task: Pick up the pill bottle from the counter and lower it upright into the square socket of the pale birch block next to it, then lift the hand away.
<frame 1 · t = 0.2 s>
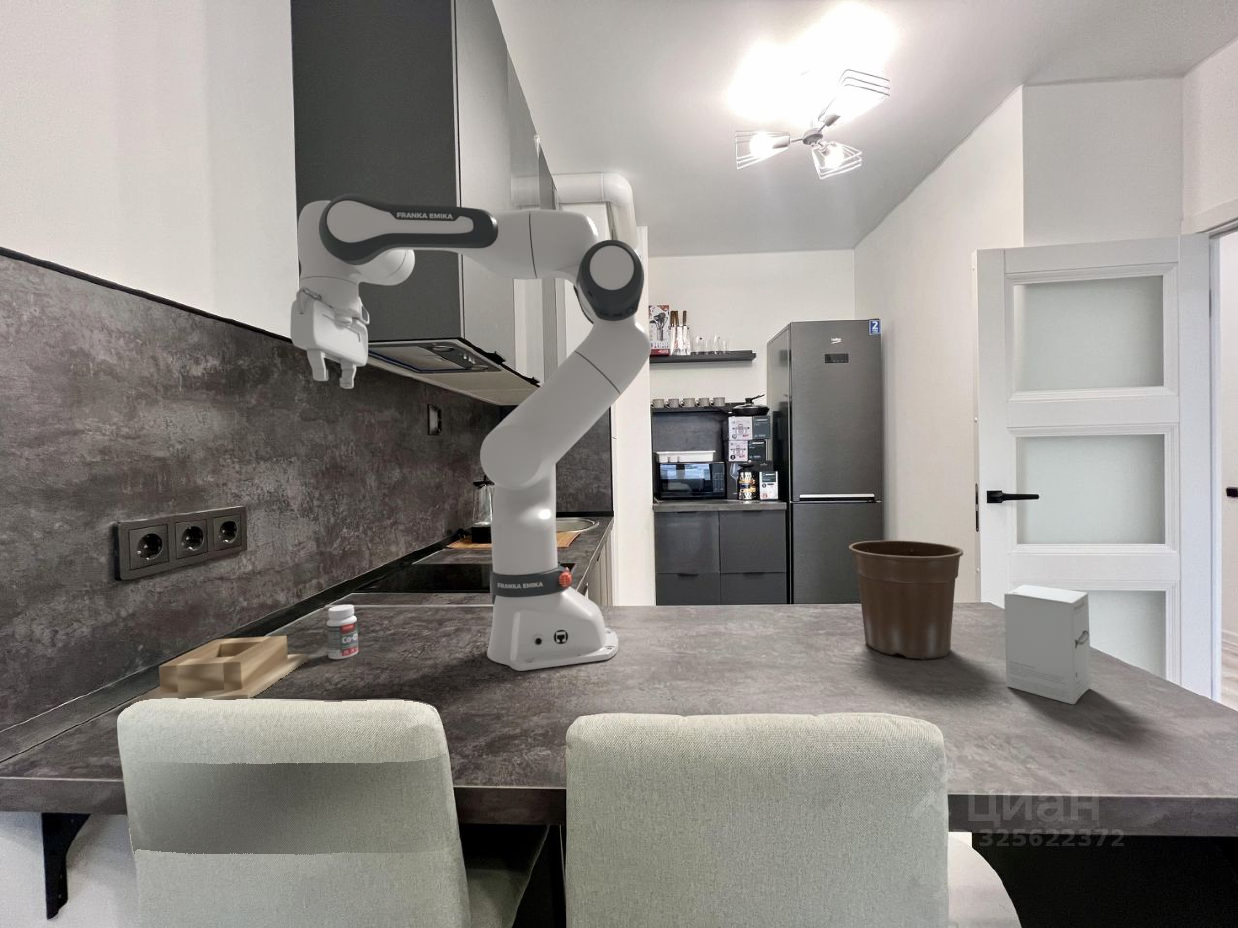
hand: (334, 384, 91), 47 cm above the kitchen counter, tool pointing down, fingers open, 8 cm apart
pill bottle: (343, 655, 95), on the kitchen counter
birch socket block: (229, 682, 84), on the kitchen counter
supplement box: (1048, 689, 71), on the kitchen counter
plant pot: (907, 647, 87), on the kitchen counter
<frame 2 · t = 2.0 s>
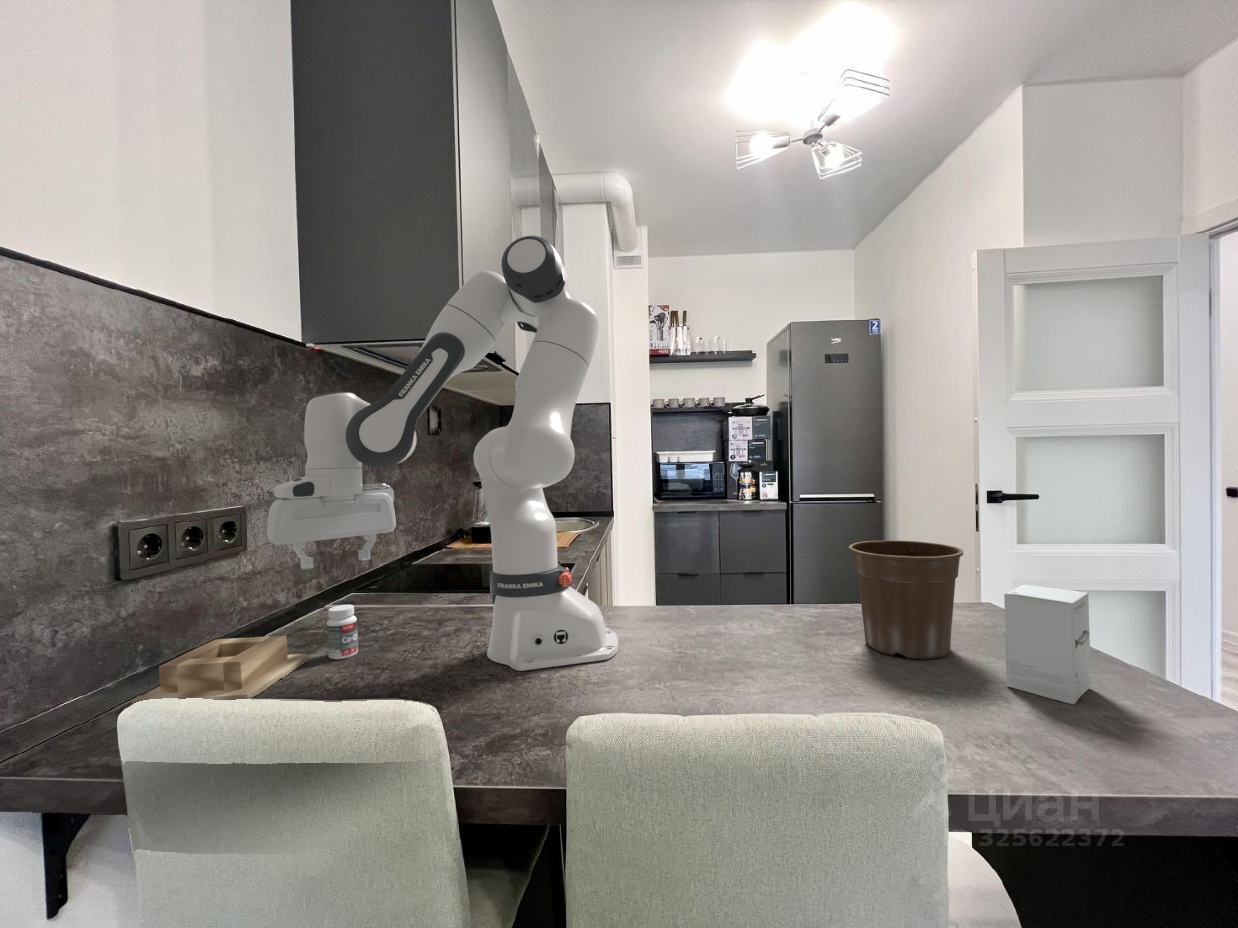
hand: (336, 563, 95), 16 cm above the kitchen counter, tool pointing down, fingers open, 8 cm apart
nothing on the kitchen counter moved.
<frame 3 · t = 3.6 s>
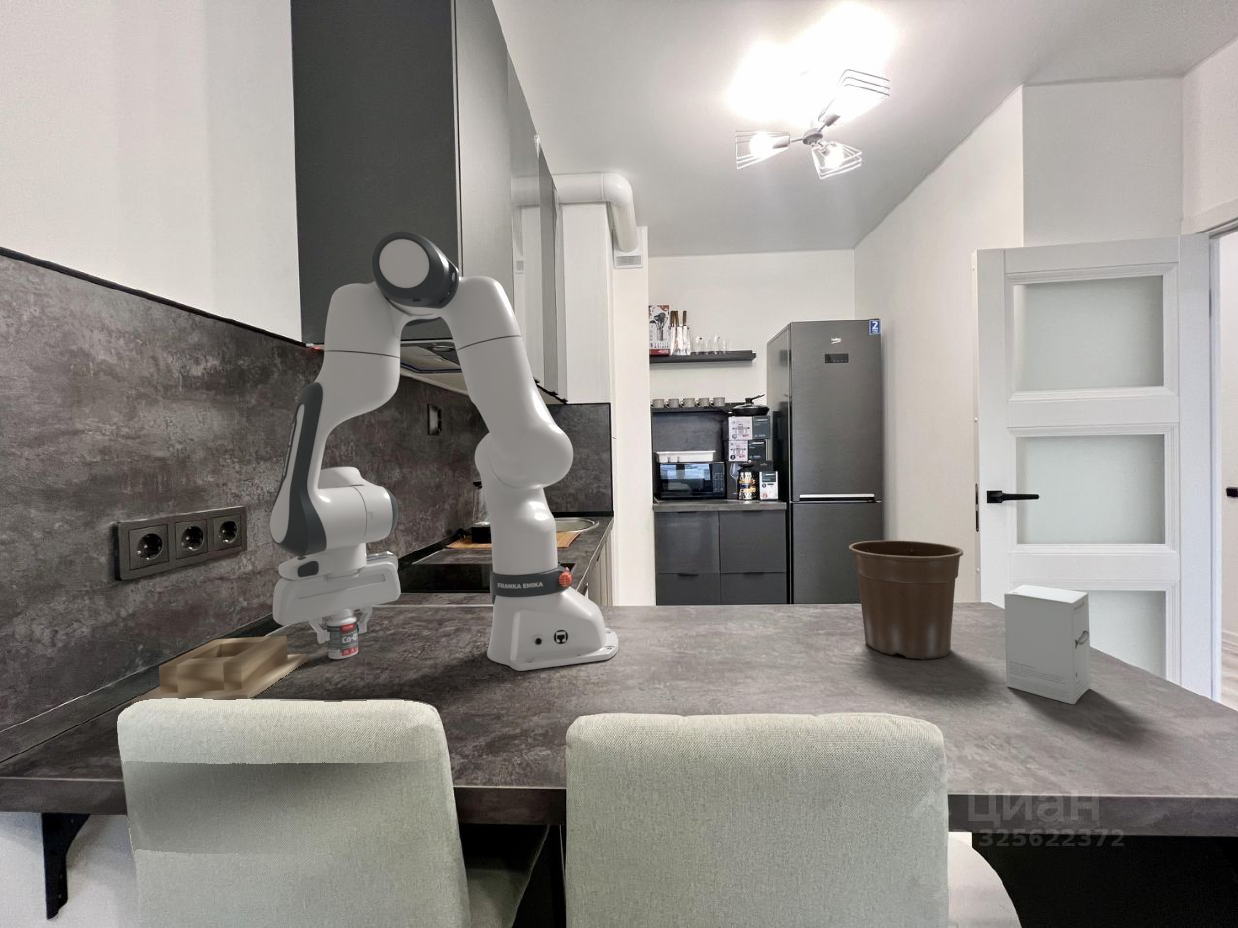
hand: (342, 637, 95), 3 cm above the kitchen counter, tool pointing down, fingers closed on pill bottle, 5 cm apart
pill bottle: (343, 655, 95), on the kitchen counter, touching gripper
everything else where it was.
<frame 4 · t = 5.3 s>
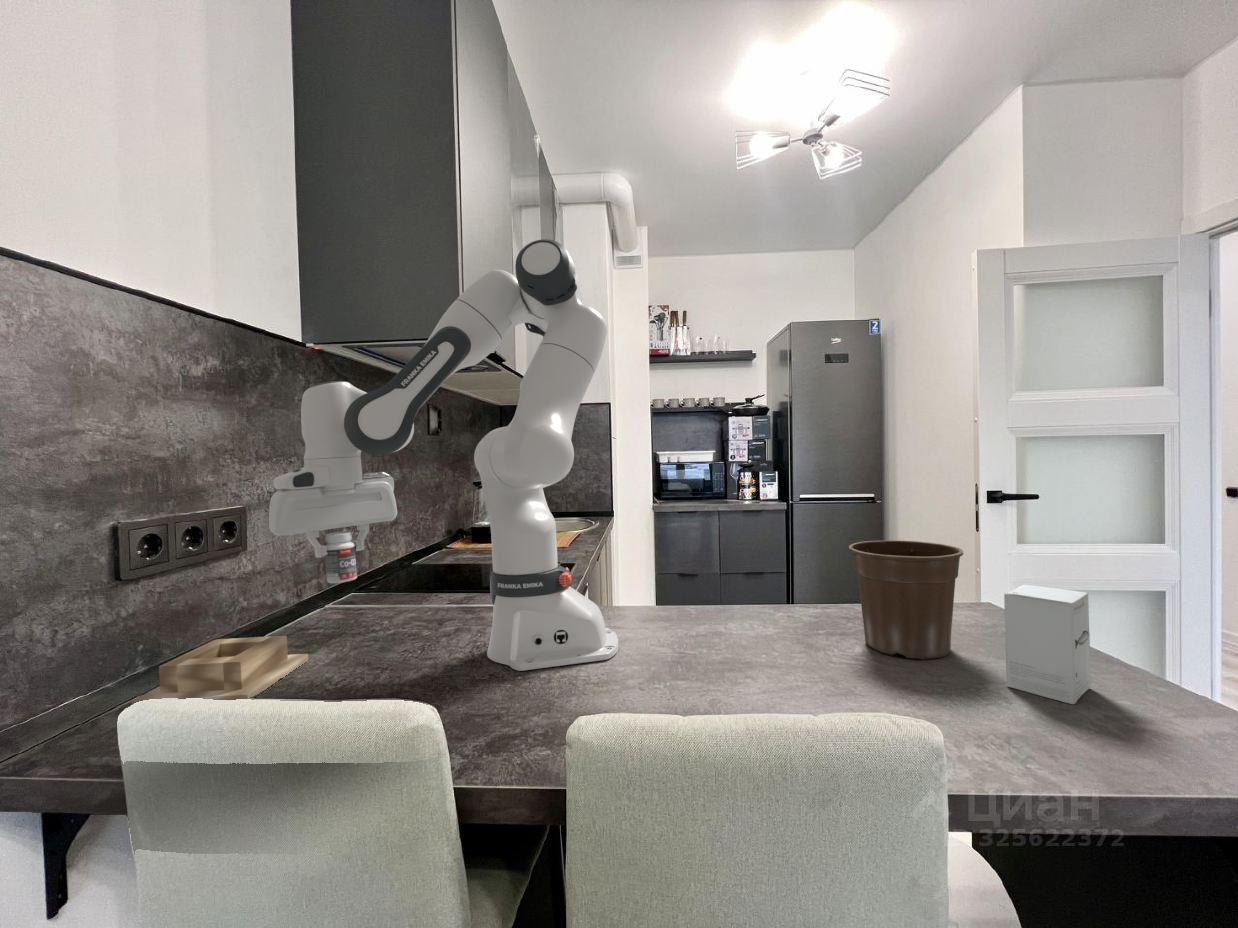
hand: (340, 553, 95), 18 cm above the kitchen counter, tool pointing down, fingers closed on pill bottle, 5 cm apart
pill bottle: (342, 581, 95), point 13 cm above the kitchen counter, touching gripper
everything else where it was.
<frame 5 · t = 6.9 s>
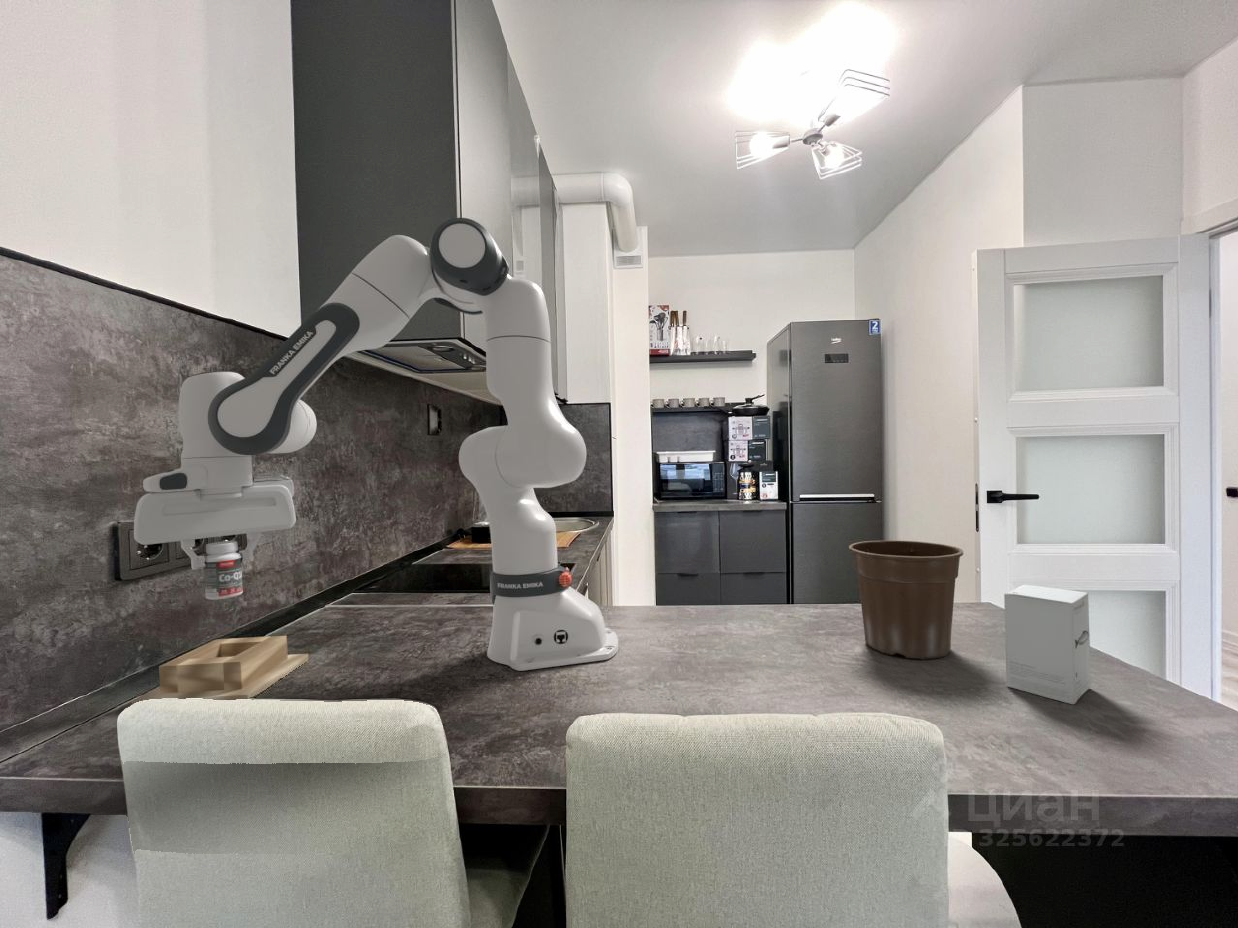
hand: (223, 565, 84), 19 cm above the kitchen counter, tool pointing down, fingers closed on pill bottle, 5 cm apart
pill bottle: (224, 597, 84), point 13 cm above the kitchen counter, touching gripper
everything else where it was.
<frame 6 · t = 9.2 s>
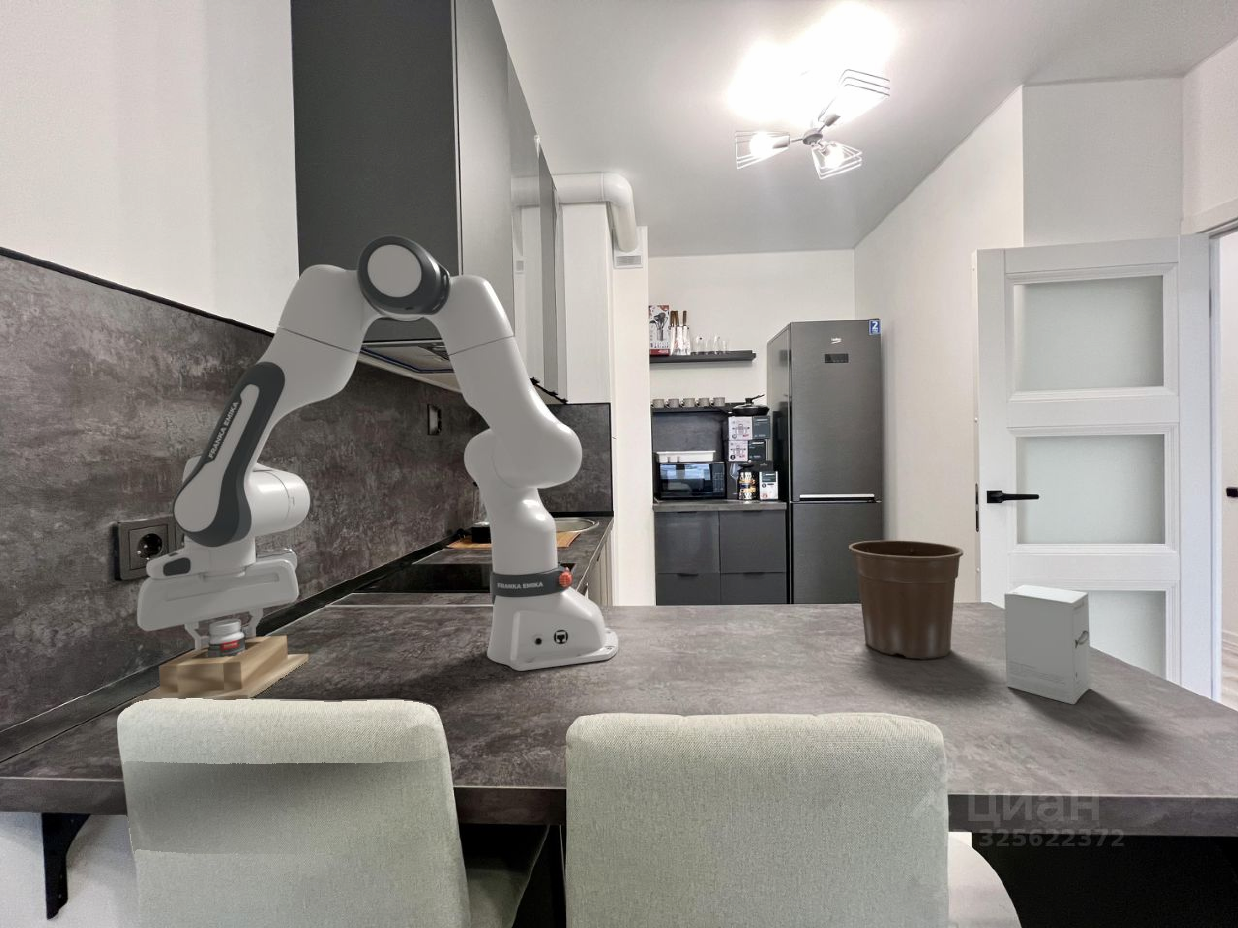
hand: (226, 643, 84), 6 cm above the kitchen counter, tool pointing down, fingers closed on pill bottle, 5 cm apart
pill bottle: (228, 676, 84), point 1 cm above the kitchen counter, touching birch socket block, gripper
everything else where it was.
when the fingers open (6 cm above the kitchen counter, at t = 9.5 s): pill bottle stays where it is, resting on birch socket block.
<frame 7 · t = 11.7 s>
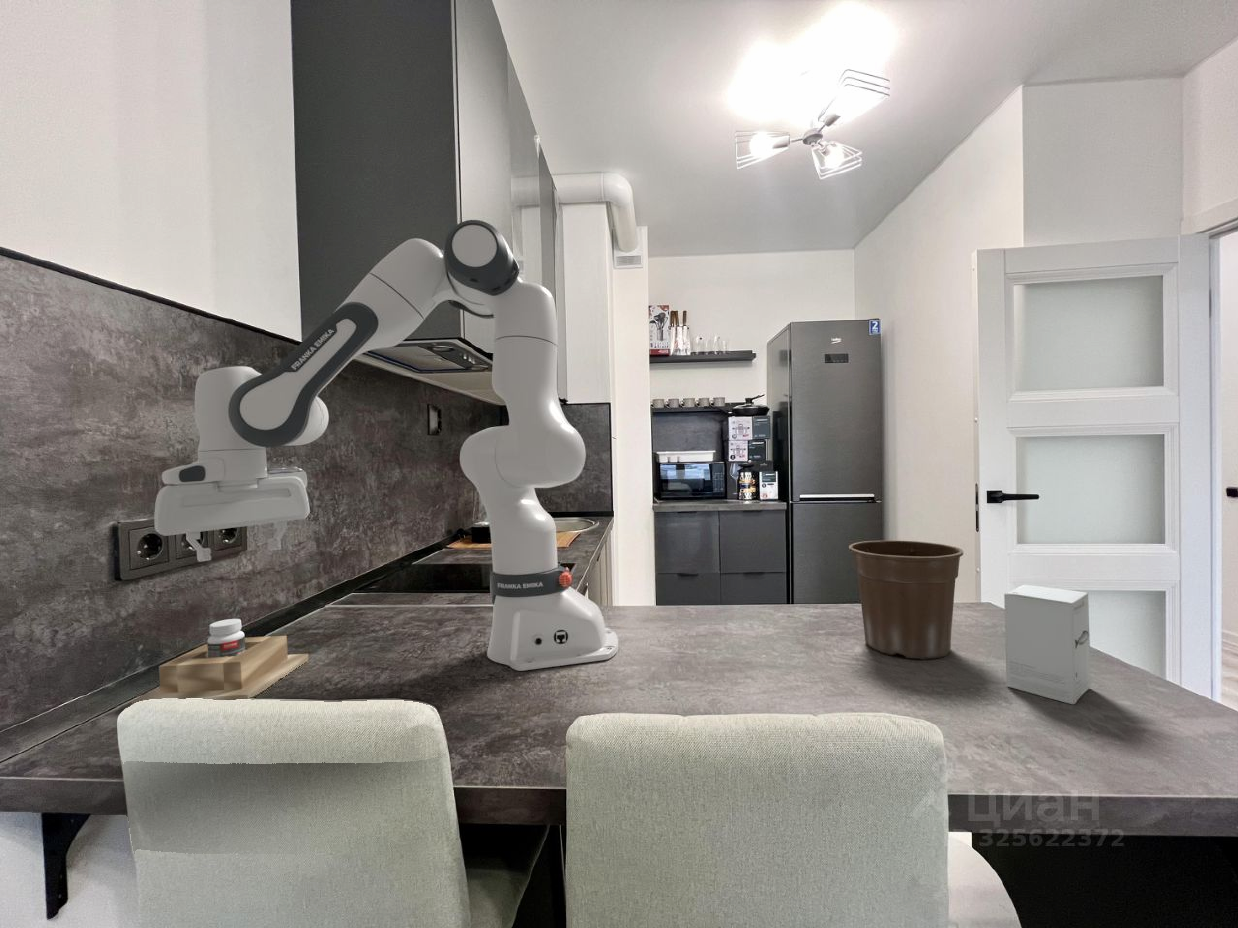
hand: (240, 555, 86), 20 cm above the kitchen counter, tool pointing down, fingers open, 8 cm apart
pill bottle: (228, 676, 84), point 1 cm above the kitchen counter, touching birch socket block
everything else where it was.
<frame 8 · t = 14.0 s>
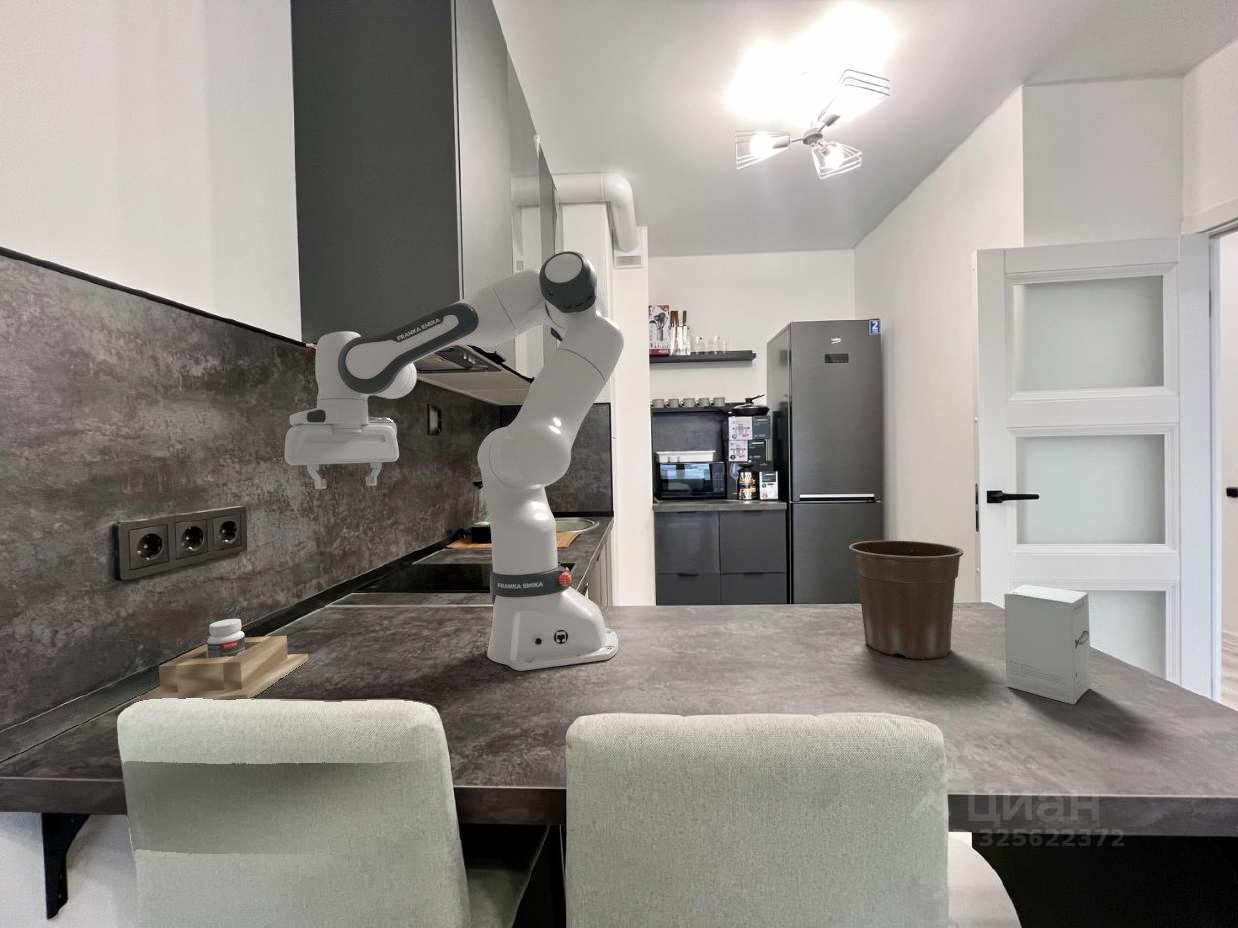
hand: (346, 487, 105), 29 cm above the kitchen counter, tool pointing down, fingers open, 8 cm apart
nothing on the kitchen counter moved.
at the end: pill bottle 0.2 cm off-centre on the birch socket block, point 1.0 cm above the birch socket block's base; pill bottle tilted 0°; the gripper is holding nothing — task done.
